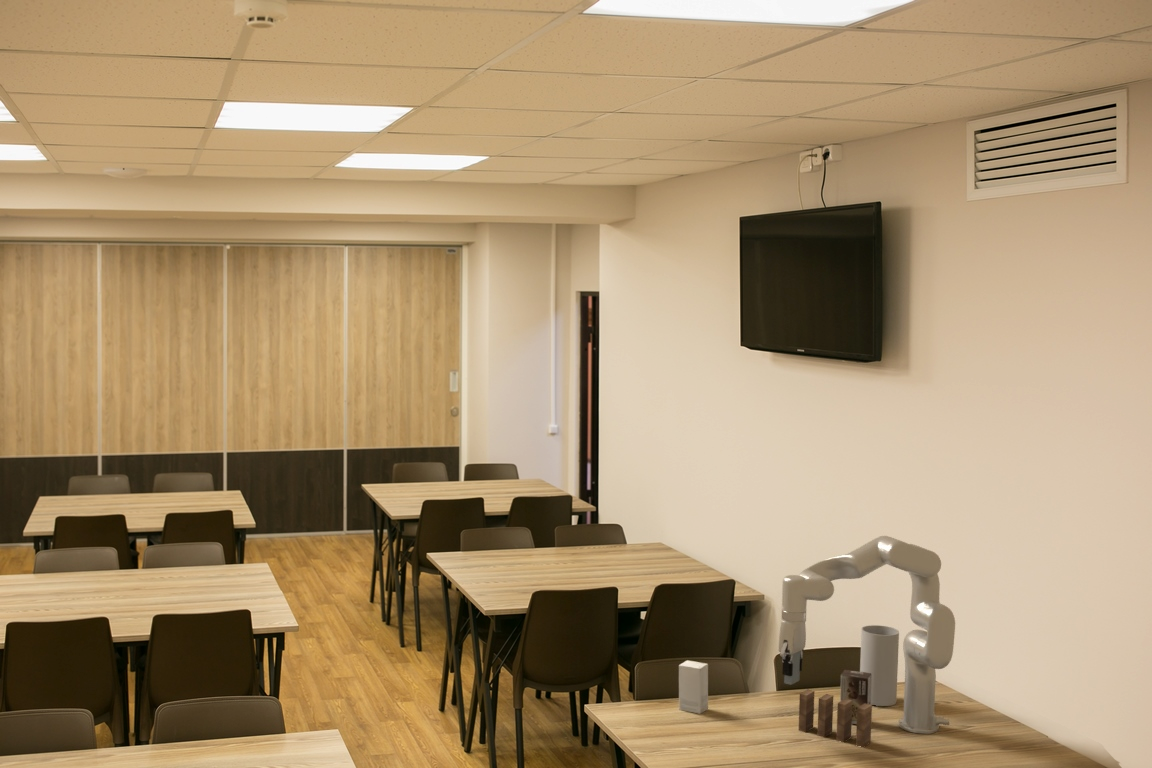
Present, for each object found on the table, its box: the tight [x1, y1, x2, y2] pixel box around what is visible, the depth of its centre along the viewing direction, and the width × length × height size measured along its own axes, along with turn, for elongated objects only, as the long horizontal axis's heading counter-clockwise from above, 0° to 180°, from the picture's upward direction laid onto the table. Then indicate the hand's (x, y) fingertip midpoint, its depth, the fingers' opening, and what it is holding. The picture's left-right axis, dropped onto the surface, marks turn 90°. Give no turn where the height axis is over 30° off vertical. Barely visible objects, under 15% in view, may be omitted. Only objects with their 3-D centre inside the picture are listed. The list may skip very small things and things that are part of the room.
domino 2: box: [816, 693, 834, 738], centre depth 354 cm, size 2×6×12 cm, turn 142°
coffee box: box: [839, 669, 871, 725], centre depth 365 cm, size 9×6×16 cm
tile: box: [783, 651, 801, 686], centre depth 347 cm, size 2×6×12 cm, turn 142°
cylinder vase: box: [859, 624, 900, 707], centre depth 385 cm, size 12×12×25 cm
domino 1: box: [798, 689, 815, 733], centre depth 358 cm, size 2×6×12 cm, turn 142°
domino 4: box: [855, 703, 873, 748], centre depth 346 cm, size 2×6×12 cm, turn 142°
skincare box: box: [678, 659, 709, 715], centre depth 373 cm, size 8×7×16 cm
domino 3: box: [835, 699, 853, 743], centre depth 350 cm, size 2×6×12 cm, turn 142°
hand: (792, 672), depth 348 cm, fingers closed on tile, 5 cm apart
